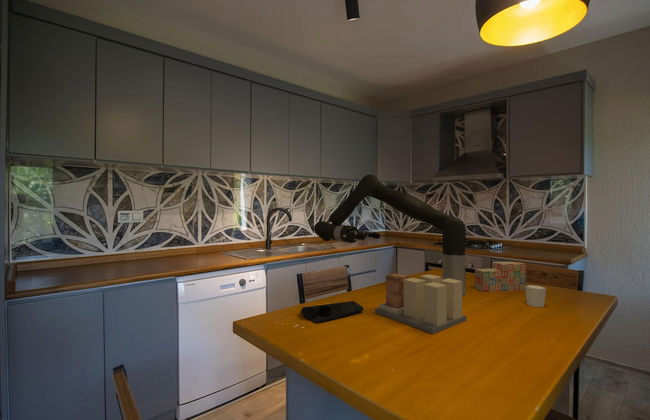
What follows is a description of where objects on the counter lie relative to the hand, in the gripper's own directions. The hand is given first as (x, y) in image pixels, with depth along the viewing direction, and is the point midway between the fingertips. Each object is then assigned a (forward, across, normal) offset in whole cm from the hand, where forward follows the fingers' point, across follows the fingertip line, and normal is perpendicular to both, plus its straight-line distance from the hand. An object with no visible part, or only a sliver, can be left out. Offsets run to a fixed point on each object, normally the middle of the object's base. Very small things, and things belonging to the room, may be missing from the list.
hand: (372, 236), depth 130 cm
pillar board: (+23, 0, +26) cm, 35 cm away
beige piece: (+42, +47, +26) cm, 68 cm away
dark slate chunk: (+2, -22, +27) cm, 35 cm away
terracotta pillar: (+16, -4, +24) cm, 30 cm away
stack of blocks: (+23, +60, +26) cm, 69 cm away
